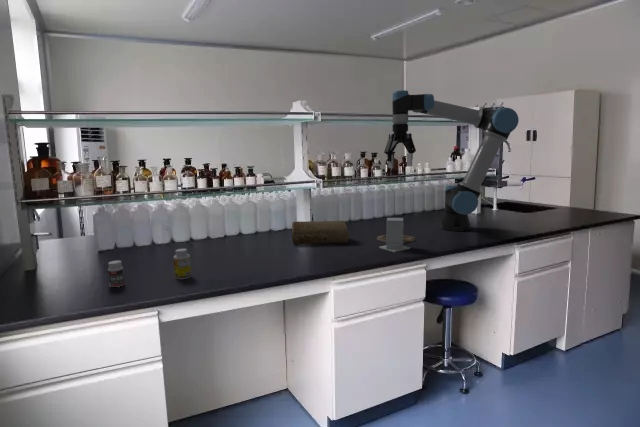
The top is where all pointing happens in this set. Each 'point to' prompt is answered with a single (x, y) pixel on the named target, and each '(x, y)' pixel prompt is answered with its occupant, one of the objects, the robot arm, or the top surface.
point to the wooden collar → (406, 239)
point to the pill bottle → (115, 274)
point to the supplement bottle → (182, 264)
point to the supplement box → (394, 233)
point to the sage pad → (394, 249)
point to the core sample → (319, 232)
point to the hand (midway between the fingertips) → (400, 167)
